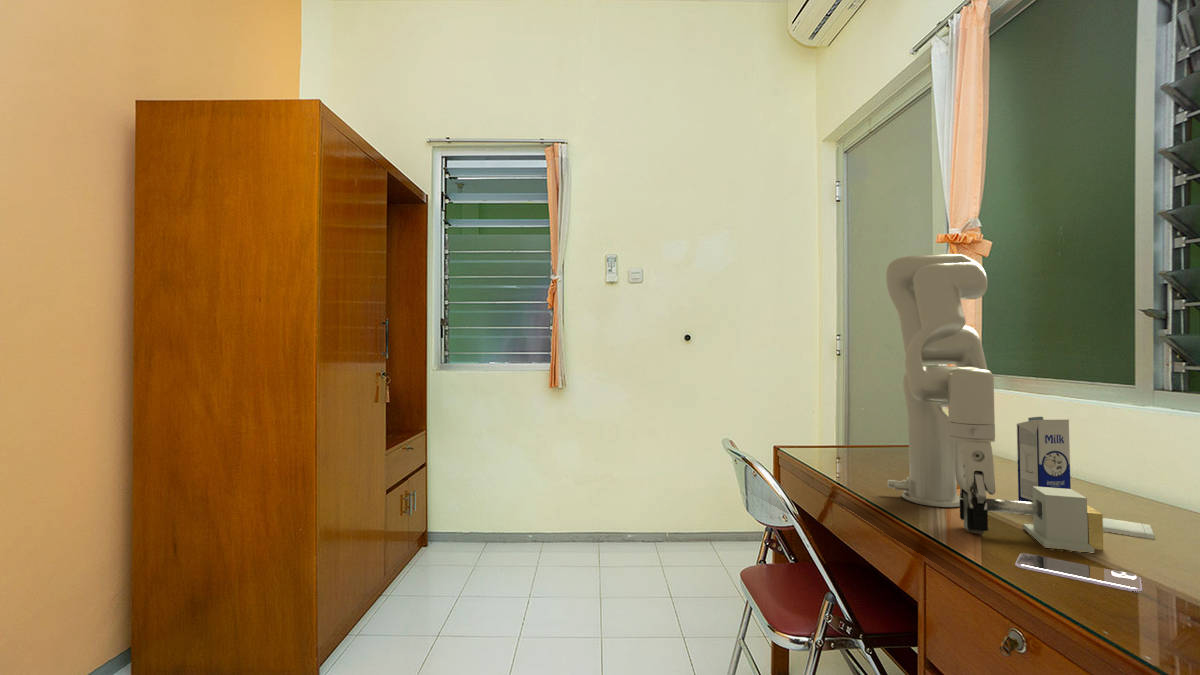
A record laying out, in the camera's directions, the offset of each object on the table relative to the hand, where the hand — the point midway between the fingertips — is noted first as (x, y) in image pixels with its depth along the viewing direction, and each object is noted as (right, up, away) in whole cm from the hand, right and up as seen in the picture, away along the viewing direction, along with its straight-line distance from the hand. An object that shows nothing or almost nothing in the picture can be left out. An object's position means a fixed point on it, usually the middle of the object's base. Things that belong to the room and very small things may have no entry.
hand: (973, 524), depth 108 cm
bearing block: (+12, -1, -5) cm, 14 cm away
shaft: (+6, -1, -3) cm, 7 cm away
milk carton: (+29, -2, +19) cm, 35 cm away
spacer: (+16, -1, -7) cm, 18 cm away
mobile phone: (+3, -2, -20) cm, 20 cm away
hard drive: (+29, -2, +2) cm, 29 cm away
